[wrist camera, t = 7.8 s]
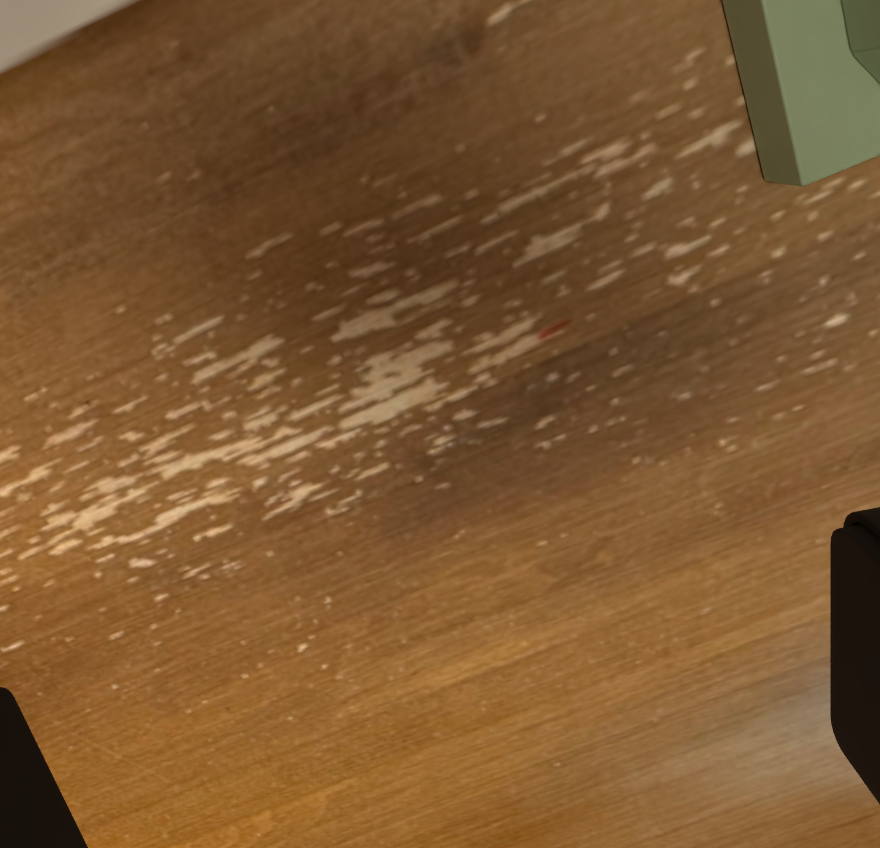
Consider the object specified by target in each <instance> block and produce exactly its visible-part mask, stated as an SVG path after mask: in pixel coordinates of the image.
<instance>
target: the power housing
mask: <svg viewBox="0 0 880 848" xmlns="http://www.w3.org/2000/svg"><path fill="white" fill-rule="evenodd" d="M722 1H723V6H724V10H725V14H726V18H727V23H728V27H729V31H730V35H731V40H732V44H733V48H734V52H735V57H736V61H737V65H738V69H739V74H740V78H741V82H742V86H743V91H744V95H745V99H746V103H747V108H748V112H749V116H750V120H751V125H752V129H753V133H754V137H755V142H756V146H757V150H758V154H759V158H760V163H761V167H762V171H763V175H764V180H765V181H768V182H775V183H782V184H789V185H796V186H806V185H808V184H811V183H813V182H816V181H818V180H821V179H823V178H825V177H828V176H830V175H833V174H835V173H838V172H840V171H842V170H845V169H847V168H850V167H852V166H855V165H857V164H859V163H862V162H864V161H867V160H869V159H872V158H874V157H876V156H879V155H880V0H722Z"/></svg>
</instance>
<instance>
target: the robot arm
mask: <svg viewBox="0 0 880 848" xmlns="http://www.w3.org/2000/svg"><path fill="white" fill-rule="evenodd" d="M831 724H832V728H833V732H834V735H835V738H836V740H837V742H838V744H839V747H840V748H841V750H842V752H843V753H844V755H845V756H846V758H847V759H848V760H849V762H850V763H851V765H852V766H853V767H854V769H855V770H856V772H857V773H858V774H859V776H860V777H861V779H862V780H863V781H864V783H865V784H866V786H867V787H868V788H869V790H870V791H871V793H872V794H873V795H874V797H875V798H876V800H877V801H878V802H879V804H880V507H879V508H873V509H868V510H863V511H857V512H852V513H851V514H849V515H848V516H847V517H846V519H845V522H844V527H843V528H839V529H836V530H835V531H833V534H832V536H831ZM0 848H88V847H87V845H86V843H85V841H84V839H83V837H82V835H81V833H80V831H79V829H78V827H77V824H76V822H75V820H74V818H73V816H72V814H71V812H70V810H69V808H68V806H67V804H66V802H65V800H64V798H63V796H62V794H61V792H60V790H59V788H58V786H57V784H56V782H55V780H54V777H53V775H52V773H51V771H50V769H49V767H48V765H47V763H46V761H45V759H44V757H43V755H42V753H41V751H40V749H39V747H38V745H37V743H36V741H35V739H34V737H33V735H32V733H31V730H30V728H29V726H28V724H27V722H26V720H25V718H24V716H23V714H22V712H21V710H20V708H19V706H18V704H17V702H16V700H15V698H14V696H13V695H12V693H11V692H10V691H9V690H8V689H6V688H2V687H0Z"/></svg>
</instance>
